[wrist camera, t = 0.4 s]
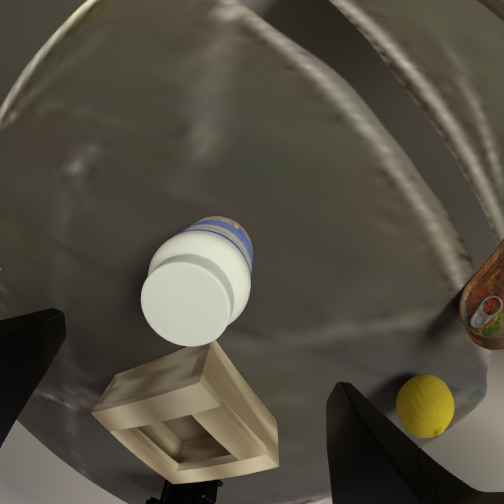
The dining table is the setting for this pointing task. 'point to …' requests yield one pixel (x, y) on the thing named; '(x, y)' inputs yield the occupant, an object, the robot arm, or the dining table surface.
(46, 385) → the dining table surface
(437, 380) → the lemon
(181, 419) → the box
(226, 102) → the dining table surface
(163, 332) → the pill bottle
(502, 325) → the tin
